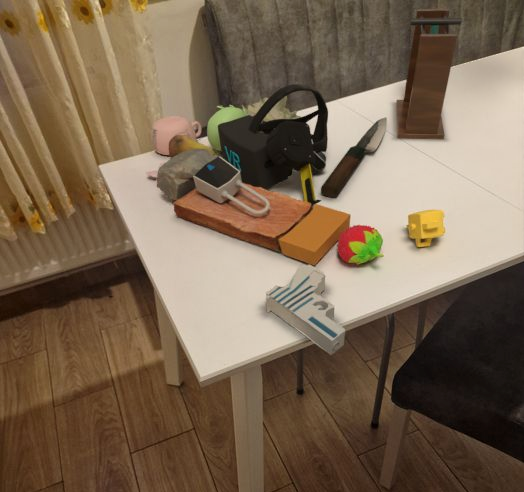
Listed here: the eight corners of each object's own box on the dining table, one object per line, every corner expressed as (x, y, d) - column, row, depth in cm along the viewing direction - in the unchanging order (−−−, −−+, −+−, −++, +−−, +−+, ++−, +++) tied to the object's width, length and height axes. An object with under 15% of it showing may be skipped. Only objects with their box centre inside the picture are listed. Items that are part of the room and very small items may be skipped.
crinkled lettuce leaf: (283, 124, 127) (232, 134, 121) (280, 91, 123) (227, 100, 117) (320, 127, 115) (264, 139, 109) (318, 90, 111) (260, 100, 105)
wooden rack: (396, 103, 124) (409, 8, 109) (437, 104, 122) (457, 8, 108) (397, 138, 111) (412, 36, 97) (443, 139, 110) (466, 36, 95)
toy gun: (306, 261, 78) (258, 291, 74) (378, 307, 70) (329, 343, 66) (306, 276, 80) (259, 306, 76) (376, 322, 73) (328, 358, 69)
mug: (140, 119, 111) (147, 145, 115) (157, 132, 105) (163, 160, 109) (189, 106, 115) (193, 132, 119) (208, 117, 109) (212, 145, 113)
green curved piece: (207, 84, 101) (189, 112, 111) (220, 138, 101) (202, 161, 111) (258, 85, 107) (237, 111, 116) (270, 136, 107) (249, 158, 117)
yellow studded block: (428, 242, 88) (401, 247, 88) (426, 209, 87) (398, 213, 86) (452, 244, 81) (422, 249, 80) (450, 207, 79) (420, 212, 79)
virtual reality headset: (214, 166, 108) (202, 94, 97) (300, 134, 115) (298, 63, 103) (259, 203, 97) (251, 126, 86) (351, 165, 103) (355, 88, 92)
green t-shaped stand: (399, 95, 116) (410, 14, 104) (443, 96, 115) (460, 13, 103) (399, 106, 112) (411, 22, 100) (445, 106, 111) (463, 22, 99)
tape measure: (297, 133, 95) (262, 128, 90) (311, 122, 91) (275, 115, 87) (309, 208, 94) (274, 206, 90) (323, 200, 91) (288, 197, 86)
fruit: (169, 126, 104) (226, 132, 106) (169, 147, 110) (224, 152, 111) (167, 147, 102) (225, 153, 104) (168, 167, 108) (223, 172, 109)
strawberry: (324, 223, 80) (364, 251, 74) (360, 210, 83) (402, 236, 77) (322, 254, 84) (360, 283, 78) (357, 240, 87) (396, 267, 81)
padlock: (219, 153, 91) (279, 190, 85) (222, 172, 95) (280, 208, 89) (192, 174, 89) (252, 213, 83) (197, 192, 93) (254, 230, 87)
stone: (191, 149, 102) (206, 129, 95) (215, 182, 104) (231, 166, 97) (146, 177, 96) (159, 158, 90) (172, 212, 98) (187, 196, 91)
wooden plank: (313, 268, 82) (313, 252, 79) (174, 218, 94) (170, 202, 91) (349, 228, 89) (351, 212, 86) (216, 186, 101) (214, 171, 98)
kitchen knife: (346, 189, 93) (321, 184, 95) (345, 200, 95) (320, 195, 97) (397, 113, 114) (375, 110, 116) (395, 123, 116) (374, 120, 118)
